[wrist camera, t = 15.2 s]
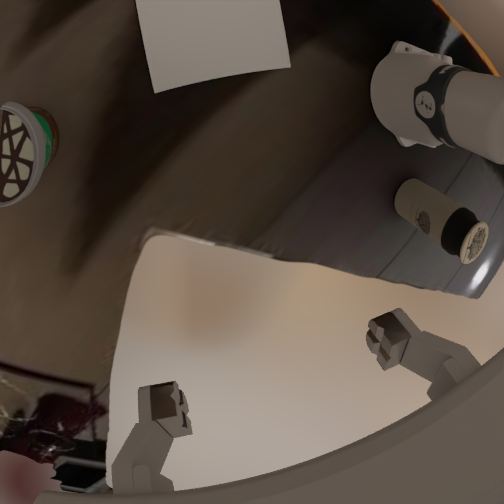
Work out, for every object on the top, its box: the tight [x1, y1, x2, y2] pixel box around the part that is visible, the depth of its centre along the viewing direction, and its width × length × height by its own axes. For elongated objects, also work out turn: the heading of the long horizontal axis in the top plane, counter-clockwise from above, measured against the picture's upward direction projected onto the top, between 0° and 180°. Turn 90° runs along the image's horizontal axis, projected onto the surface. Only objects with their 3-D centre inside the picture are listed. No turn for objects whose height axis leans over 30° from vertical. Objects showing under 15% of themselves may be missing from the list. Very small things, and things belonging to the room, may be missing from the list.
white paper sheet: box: [136, 0, 291, 93], centre depth 28 cm, size 18×18×1 cm
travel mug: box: [395, 178, 488, 264], centre depth 44 cm, size 8×8×18 cm
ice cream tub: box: [0, 101, 59, 207], centre depth 27 cm, size 12×6×10 cm, turn 161°
